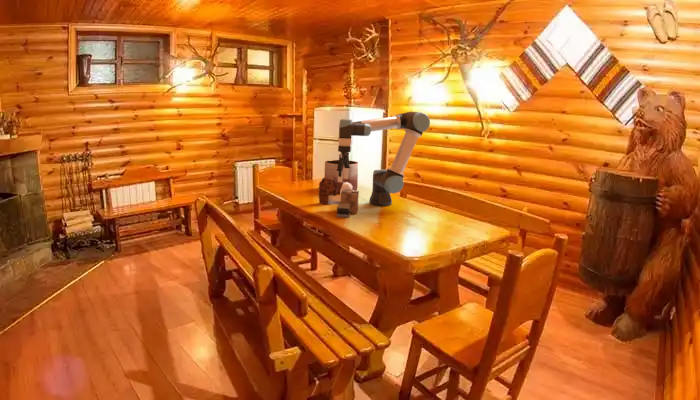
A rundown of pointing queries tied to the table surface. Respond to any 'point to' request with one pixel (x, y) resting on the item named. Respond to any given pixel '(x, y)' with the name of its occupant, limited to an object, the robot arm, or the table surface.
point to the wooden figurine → (327, 189)
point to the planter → (352, 173)
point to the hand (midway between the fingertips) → (342, 180)
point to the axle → (335, 200)
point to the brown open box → (350, 199)
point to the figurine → (346, 186)
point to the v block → (343, 210)
